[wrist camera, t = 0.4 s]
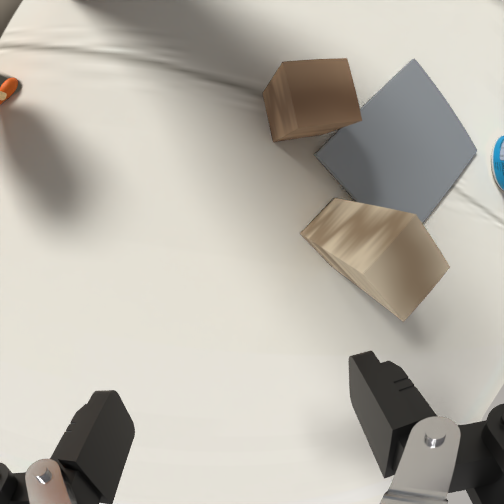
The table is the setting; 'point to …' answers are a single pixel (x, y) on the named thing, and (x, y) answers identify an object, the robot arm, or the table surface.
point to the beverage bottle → (498, 161)
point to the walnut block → (311, 98)
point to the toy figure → (8, 89)
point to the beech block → (379, 252)
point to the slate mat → (401, 146)
